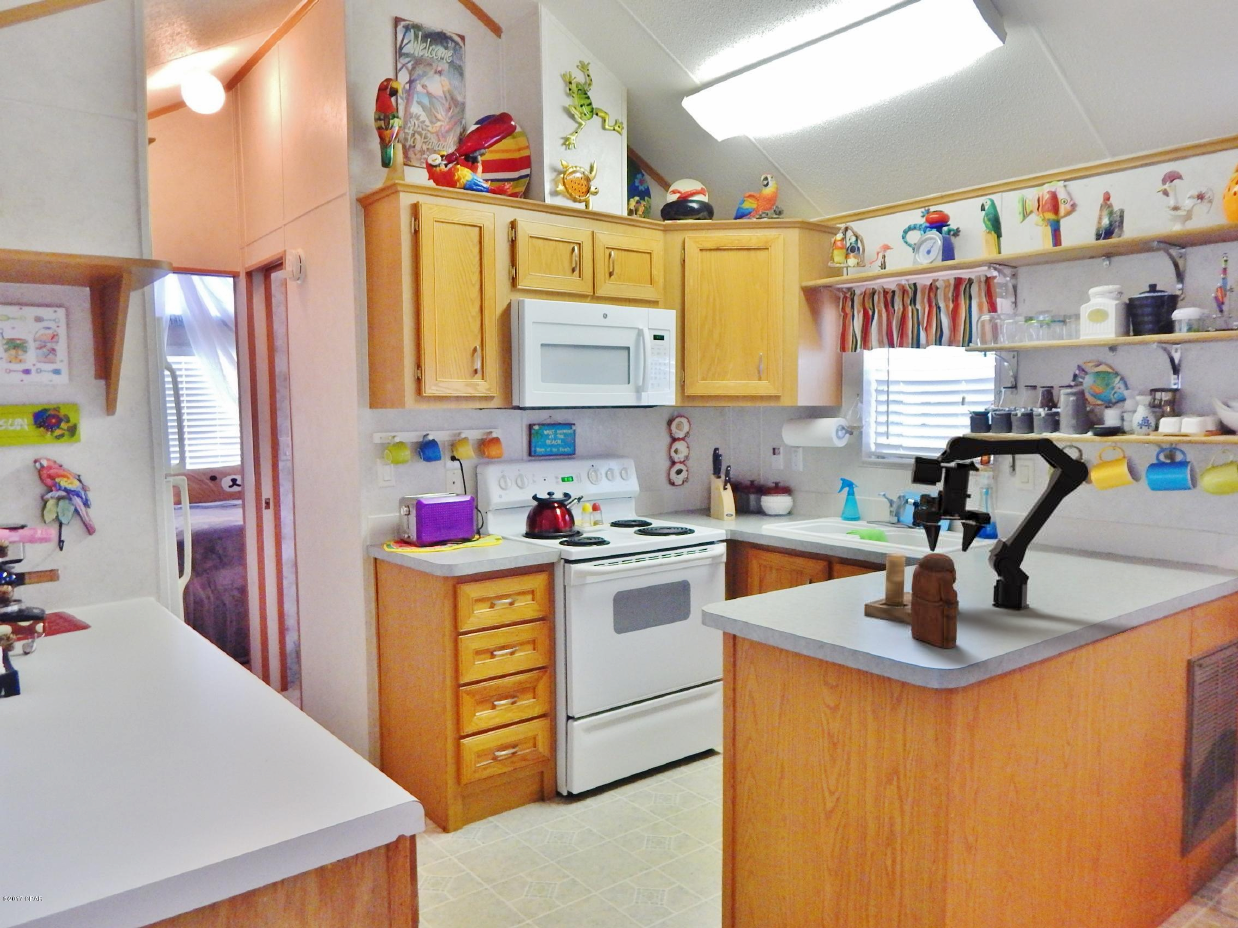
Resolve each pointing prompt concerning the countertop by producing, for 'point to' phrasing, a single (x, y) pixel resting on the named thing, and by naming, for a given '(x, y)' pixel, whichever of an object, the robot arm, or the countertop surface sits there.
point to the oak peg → (895, 580)
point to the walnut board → (892, 609)
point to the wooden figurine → (934, 601)
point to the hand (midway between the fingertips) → (948, 551)
